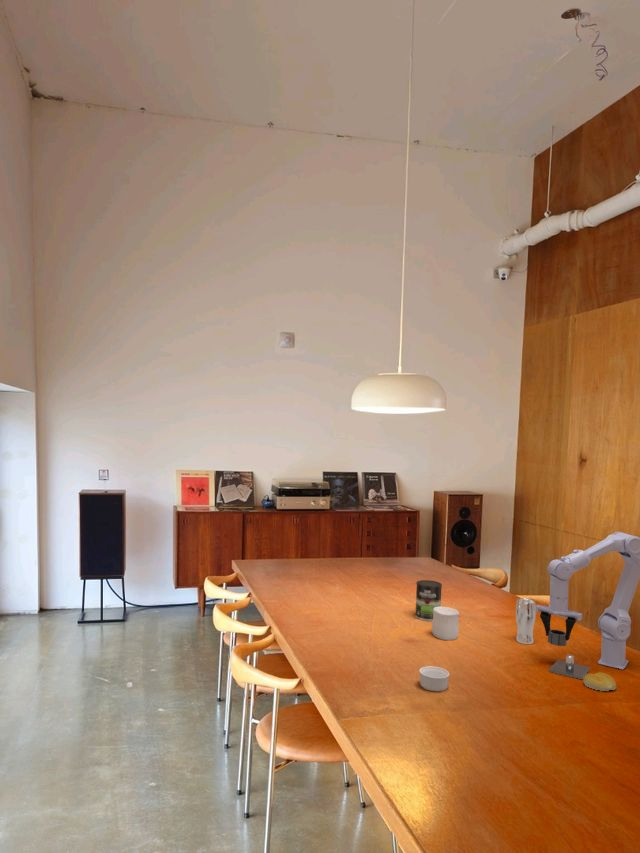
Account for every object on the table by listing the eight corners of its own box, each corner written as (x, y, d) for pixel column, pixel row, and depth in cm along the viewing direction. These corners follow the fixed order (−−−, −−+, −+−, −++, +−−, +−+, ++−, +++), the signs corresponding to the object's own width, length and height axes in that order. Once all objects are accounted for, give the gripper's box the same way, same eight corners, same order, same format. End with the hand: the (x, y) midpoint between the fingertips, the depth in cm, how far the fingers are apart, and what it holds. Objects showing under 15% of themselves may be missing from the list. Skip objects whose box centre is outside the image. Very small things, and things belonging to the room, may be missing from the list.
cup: (451, 642, 217) (452, 615, 217) (426, 636, 223) (427, 610, 223) (462, 636, 225) (463, 610, 225) (438, 630, 231) (439, 604, 231)
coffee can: (439, 622, 240) (440, 587, 240) (413, 619, 243) (414, 584, 243) (441, 615, 250) (443, 581, 250) (417, 612, 253) (418, 579, 253)
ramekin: (427, 677, 185) (428, 663, 185) (454, 686, 179) (454, 671, 179) (413, 686, 178) (413, 671, 178) (440, 695, 173) (440, 680, 173)
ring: (550, 638, 204) (551, 628, 204) (568, 642, 201) (568, 632, 201) (546, 642, 200) (546, 632, 200) (563, 647, 196) (564, 636, 196)
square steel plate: (557, 661, 202) (558, 647, 202) (589, 669, 196) (590, 654, 196) (549, 671, 193) (549, 656, 193) (582, 680, 187) (582, 664, 187)
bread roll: (577, 682, 186) (578, 669, 186) (602, 680, 188) (602, 667, 188) (596, 694, 178) (596, 680, 178) (621, 691, 180) (621, 678, 180)
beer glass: (519, 636, 226) (520, 597, 226) (537, 641, 222) (538, 600, 222) (511, 641, 221) (513, 600, 221) (530, 646, 217) (532, 604, 217)
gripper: (533, 594, 202) (531, 635, 201) (578, 603, 193) (577, 645, 193) (539, 590, 207) (538, 630, 207) (584, 598, 199) (582, 640, 198)
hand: (557, 637), depth 200 cm, fingers closed on ring, 6 cm apart
